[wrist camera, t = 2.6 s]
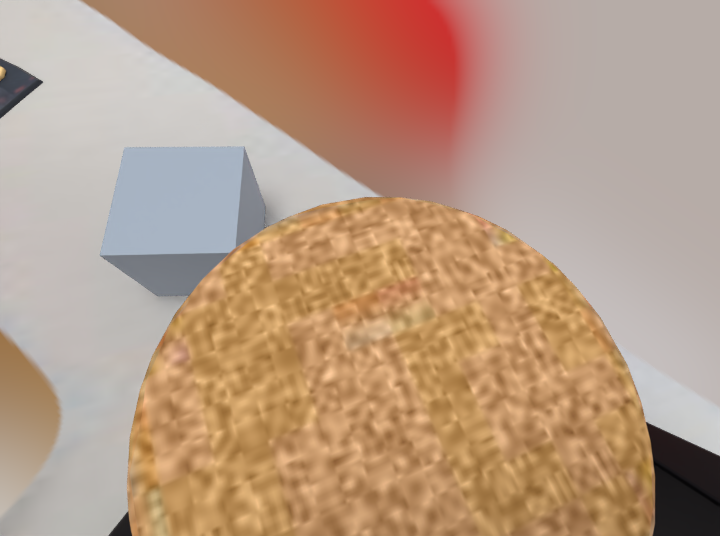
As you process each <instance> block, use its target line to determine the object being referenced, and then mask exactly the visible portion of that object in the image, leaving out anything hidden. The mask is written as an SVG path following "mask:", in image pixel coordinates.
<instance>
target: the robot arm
mask: <svg viewBox="0 0 720 536" xmlns="http://www.w3.org/2000/svg"><path fill="white" fill-rule="evenodd" d="M646 425H647V429H648V433H649V437H650V441H651V449H652V457H653V465H654V473H655V526H654V531H653V536H720V456H719V455H716V454H714V453H712V452H710V451H708V450H706V449H703V448H701V447H699V446H697V445H695V444H693V443H690V442H688V441H686V440H684V439H682V438H680V437H677V436H675V435H673V434H671V433H669V432H667V431H664V430H662V429H660V428H658V427H656V426H653V425H651V424H649V423H647V422H646ZM109 536H132V532H131V527H130V521H129V511H128V512H127V513H126V514H125V516H124V517H123V518H122V519H121V521H120V522H119V523H118V524H117V526H116V527H115V528H114V529H113V531H112V532H111V533H110V534H109Z"/></svg>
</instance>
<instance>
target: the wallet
mask: <svg viewBox="0 0 720 536" xmlns="http://www.w3.org/2000/svg"><path fill="white" fill-rule="evenodd" d="M42 83H43V81H41V80H39V79H38V78H36V77H34V76H33V75H31V74H29V73H28V72H26V71H24V70H23V69H21V68H19V67H17V66H15V65H13V64H11V63H9V62H7V61H5V60H3V59H0V118H1V117H3V116H4V115H5V114H6V113H7V112H8V111H10V110H11V109H12V108H13V107H14V106H15V105H17V104H18V103H19V102H20V101H21V100H22V99H24V98H25V97H26V96H27V95H28V94H30V93H31V92H32V91H33V90H34V89H36V88H37V87H38V86H39V85H40V84H42Z"/></svg>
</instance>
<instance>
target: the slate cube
mask: <svg viewBox="0 0 720 536" xmlns="http://www.w3.org/2000/svg"><path fill="white" fill-rule="evenodd" d="M264 223H265V204H264V201H263V198H262V195H261V193H260V190H259V187H258V184H257V181H256V178H255V176H254V173H253V170H252V167H251V164H250V162H249V159H248V156H247V153H246V150H245V147H124V152H123V156H122V160H121V165H120V169H119V174H118V178H117V182H116V187H115V191H114V196H113V200H112V204H111V209H110V213H109V217H108V222H107V226H106V231H105V235H104V239H103V244H102V248H101V252H100V256H101V257H103V258H104V259H105V260H107V261H108V262H110V263H111V264H113V265H114V266H115V267H117V268H118V269H120V270H121V271H123V272H124V273H125V274H127V275H128V276H130V277H131V278H132V279H134V280H135V281H137V282H138V283H140V284H141V285H142V286H144V287H145V288H147V289H148V290H150V291H151V292H152V293H154V294H155V295H157V296H182V295H190V294H191V293H192V292H193V290H194V289H195V288H196V287H197V285H198V284H199V283H200V281H201V280H202V279H203V278H204V277H205V276H206V275H207V274H208V273H209V272H210V271H211V270H212V269H213V268H214V267H216V266H217V265H218V264H219V263H220V262H221V261H222V260H223V259H224V258H225V257H226V256H227V255H228V254H229V253H230V252H231V251H232V250H233V249H235V248H236V247H238V246H239V245H241V244H242V243H244V242H245V241H247V240H248V239H250V238H251V237H253V236H254V235H256V234H257V233H259V232H260V231H262V230H263V229H264Z"/></svg>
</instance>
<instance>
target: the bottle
mask: <svg viewBox="0 0 720 536" xmlns="http://www.w3.org/2000/svg"><path fill="white" fill-rule="evenodd" d="M127 496H128V511H129V521H130V527H131V532H132V536H653V531H654V526H655V473H654V465H653V457H652V449H651V441H650V437H649V433H648V429H647V425H646V421H645V417H644V412H643V408H642V404H641V401H640V398H639V395H638V393H637V390H636V387H635V384H634V382H633V379H632V376H631V374H630V371H629V368H628V366H627V364H626V362H625V360H624V358H623V357H622V355H621V353H620V351H619V349H618V348H617V346H616V344H615V342H614V341H613V339H612V337H611V335H610V334H609V332H608V330H607V328H606V327H605V325H604V323H603V321H602V320H601V318H600V317H599V315H598V314H597V313H596V311H595V310H594V309H593V308H592V306H591V305H590V304H589V303H588V301H587V300H586V299H585V298H584V297H583V295H582V294H581V293H580V291H579V290H578V289H577V288H576V287H575V286H574V285H573V283H572V282H571V281H570V280H569V279H568V278H567V277H566V276H565V275H564V274H563V273H562V272H561V271H560V270H559V269H558V268H557V267H556V266H555V265H554V264H553V263H551V262H550V261H549V260H548V259H546V258H545V257H544V256H543V255H542V254H540V253H539V252H537V251H536V250H535V249H533V248H532V247H530V246H529V245H527V244H526V243H524V242H523V241H522V240H520V239H519V238H517V237H516V236H514V235H513V234H512V233H510V232H509V231H507V230H506V229H504V228H501V227H500V226H497V225H495V224H493V223H491V222H489V221H487V220H485V219H483V218H481V217H479V216H476V215H473V214H470V213H467V212H464V211H461V210H458V209H455V208H451V207H448V206H445V205H441V204H438V203H435V202H431V201H423V200H416V199H408V198H401V197H364V198H358V199H352V200H347V201H341V202H335V203H329V204H323V205H320V206H317V207H314V208H312V209H309V210H306V211H304V212H301V213H298V214H296V215H293V216H290V217H288V218H286V219H283V220H281V221H279V222H277V223H275V224H273V225H271V226H269V227H267V228H265V229H263V230H262V231H260V232H259V233H257V234H256V235H254V236H253V237H251V238H250V239H248V240H247V241H245V242H244V243H242V244H241V245H239V246H238V247H236V248H235V249H233V250H232V251H231V252H230V253H229V254H228V255H227V256H226V257H225V258H224V259H223V260H222V261H221V262H220V263H219V264H218V265H217V266H216V267H214V268H213V269H212V270H211V271H210V272H209V273H208V274H207V275H206V276H205V277H204V278H203V279H202V280H201V281H200V283H199V284H198V285H197V287H196V288H195V289H194V290H193V292H192V293H191V294H190V296H189V297H188V298H187V299H186V301H185V302H184V303H183V305H182V306H181V307H180V309H179V310H178V311H177V312H176V314H175V315H174V317H173V319H172V321H171V322H170V324H169V326H168V328H167V330H166V332H165V333H164V335H163V337H162V339H161V341H160V343H159V345H158V346H157V348H156V350H155V352H154V354H153V356H152V358H151V361H150V364H149V367H148V369H147V372H146V375H145V378H144V381H143V383H142V386H141V389H140V393H139V398H138V402H137V407H136V411H135V416H134V421H133V425H132V430H131V434H130V443H129V460H128V478H127Z"/></svg>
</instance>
